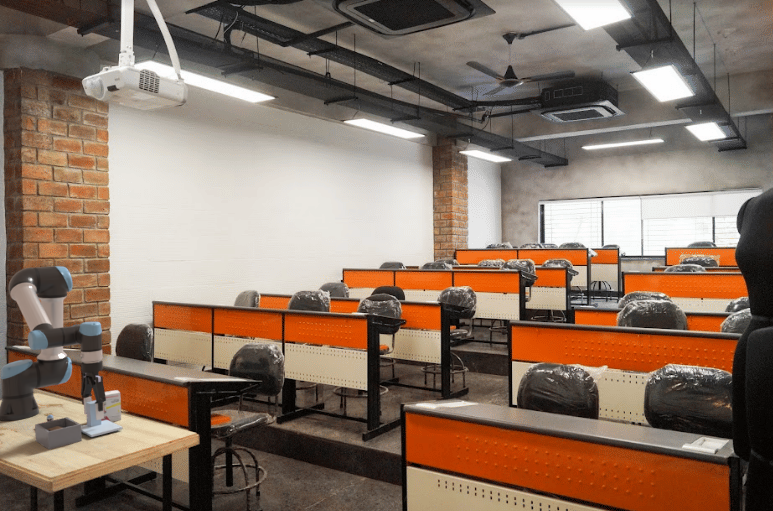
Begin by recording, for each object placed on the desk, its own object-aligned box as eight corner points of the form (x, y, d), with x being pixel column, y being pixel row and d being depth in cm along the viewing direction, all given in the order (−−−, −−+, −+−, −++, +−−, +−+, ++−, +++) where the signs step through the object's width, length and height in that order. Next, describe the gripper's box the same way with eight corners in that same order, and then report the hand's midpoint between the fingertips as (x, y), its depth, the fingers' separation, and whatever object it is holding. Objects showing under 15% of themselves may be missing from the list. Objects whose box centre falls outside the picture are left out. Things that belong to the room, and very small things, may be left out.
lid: (76, 433, 223) (75, 404, 223) (107, 425, 232) (106, 397, 232) (91, 441, 214) (90, 411, 213) (122, 433, 222) (121, 404, 222)
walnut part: (47, 439, 214) (46, 429, 214) (57, 436, 217) (57, 426, 217) (52, 441, 212) (52, 430, 212) (63, 438, 215) (63, 427, 215)
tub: (35, 443, 213) (34, 424, 213) (67, 435, 221) (66, 417, 221) (48, 451, 204) (48, 432, 203) (81, 443, 212) (80, 424, 212)
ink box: (99, 424, 234) (98, 395, 233) (96, 421, 238) (95, 393, 237) (121, 420, 239) (120, 392, 238) (119, 417, 243) (118, 389, 242)
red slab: (63, 430, 228) (62, 414, 228) (44, 434, 223) (43, 418, 223) (56, 426, 233) (56, 410, 233) (38, 430, 228) (37, 414, 228)
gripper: (70, 359, 230) (72, 413, 231) (93, 366, 215) (96, 424, 215) (90, 356, 236) (92, 408, 237) (114, 363, 220) (116, 419, 221)
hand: (93, 416), depth 226 cm, fingers open, 11 cm apart
